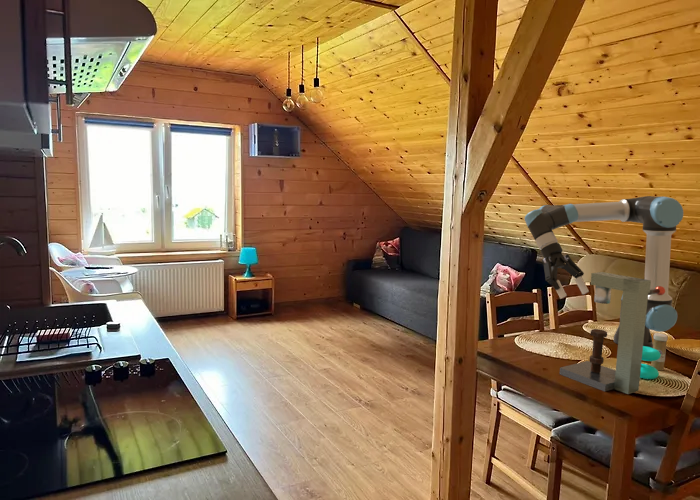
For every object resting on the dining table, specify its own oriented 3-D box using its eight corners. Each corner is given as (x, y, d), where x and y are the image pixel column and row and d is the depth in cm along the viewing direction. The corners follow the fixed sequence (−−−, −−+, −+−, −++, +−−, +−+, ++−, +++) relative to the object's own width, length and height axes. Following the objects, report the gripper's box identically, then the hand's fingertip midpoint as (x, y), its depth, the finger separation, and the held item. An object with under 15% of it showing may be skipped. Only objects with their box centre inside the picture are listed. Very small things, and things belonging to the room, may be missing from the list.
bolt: (602, 375, 184) (605, 334, 182) (586, 372, 187) (590, 331, 185) (604, 370, 189) (607, 330, 187) (589, 368, 192) (592, 328, 190)
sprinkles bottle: (652, 370, 198) (655, 335, 197) (648, 366, 203) (652, 332, 201) (665, 371, 197) (669, 336, 196) (662, 367, 202) (665, 333, 200)
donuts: (663, 348, 192) (658, 355, 185) (660, 375, 194) (655, 382, 186) (633, 343, 199) (626, 349, 191) (630, 368, 200) (624, 375, 192)
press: (559, 374, 192) (567, 271, 187) (600, 363, 204) (608, 267, 199) (620, 397, 172) (631, 283, 167) (661, 384, 184) (672, 277, 179)
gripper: (562, 248, 216) (587, 295, 208) (521, 253, 203) (546, 303, 195) (576, 239, 211) (602, 287, 203) (534, 243, 197) (561, 294, 189)
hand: (575, 295), depth 199 cm, fingers open, 13 cm apart
